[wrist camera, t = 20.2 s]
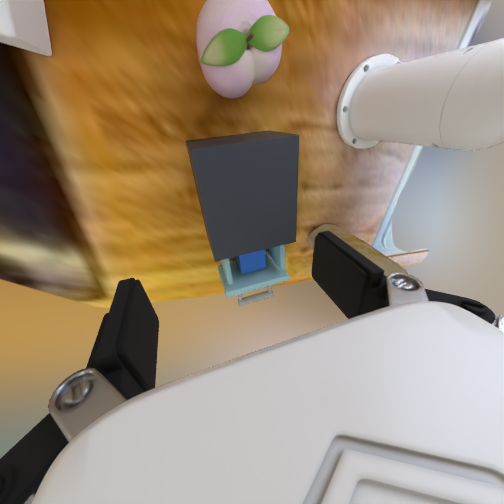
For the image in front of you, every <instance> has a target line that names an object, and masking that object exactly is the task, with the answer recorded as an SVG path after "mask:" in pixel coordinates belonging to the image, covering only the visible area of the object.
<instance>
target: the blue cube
mask: <svg viewBox="0 0 504 504" xmlns="http://www.w3.org/2000/svg"><path fill="white" fill-rule="evenodd" d="M235 259H236V262H237V264H238V267H239V269H240V271H241V273H242V274H246V273H250V272H253V271H257V270H261V269H265V268H266V258H265V250H260V251H256V252H252V253H248V254H244V255H240V256H236V257H235Z"/></svg>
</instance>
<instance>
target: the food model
mask: <svg viewBox="0 0 504 504" xmlns="http://www.w3.org/2000/svg"><path fill="white" fill-rule="evenodd" d="M323 231H330V232H332V233H333V234H335V235H336V236H337V237H339V238H340V239H341V240H343V241H344V242H346V243H347V244H348V245H350V246H351V247H353V248H354V249H355V250H357V251H358V252H359V253H361V254H362V255H364V256H365V257H366V258H368V259H369V260H371V261H372V262H373V263H375V264H376V265H377V266H379V267H380V268H382V269H383V270H384V271H385V272H384V275H386V276H388V275H389V274H391V273H396V272H399V273H405V274H408V273H407V272H406V270H405V269H404V268H402V267H401V266H400V265H399V264H397V263H396V262H394V261H393V260H391V259H389V258H388V257H386V256H385V255H383V254H382V253H381V252H379V251H378V250H376V249H375V248H373V247H372V246H370V245H369V244H367V243H366V242H364V241H362V240H361V239H359V238H357V237H356V236H354V235H352V234H351V233H349V232H347V231H346V230H344V229H342V228H340V227H338V226H335V225H332V224H324V225H321V226H319V227H318V228H316V229H315V230H314V231H312V232H311V233H310V234H309V235H308V242H309V243H310V245H311V246H312V247H313V248H314V241H315V236H317V234H318V233H319V232H323Z"/></svg>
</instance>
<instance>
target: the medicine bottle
mask: <svg viewBox="0 0 504 504" xmlns="http://www.w3.org/2000/svg"><path fill="white" fill-rule="evenodd" d="M0 42H2V43H5V44H9V45H12V46H15V47H19V48H22V49H25V50H29V51H32V52H36V53H39V54H42V55H46V56H51V55H52V49H51V43H50V37H49V31H48V24H47V18H46V12H45V6H44V0H0Z"/></svg>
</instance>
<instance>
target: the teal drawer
mask: <svg viewBox="0 0 504 504" xmlns="http://www.w3.org/2000/svg"><path fill="white" fill-rule="evenodd" d="M265 252H268V253H269V254H265V258H266V268H265V269H261V270H257V271H253V272H250V273H246V274H242V273H241V271H240V269H239V267H238V264H237V262H233V263H229V261H231V260H235V257H232V258H228V259H224V260H220V261H221V264H222V265H221V266H218V270H219V274H220V277H221V280H222V284H223V287H224V290H225V294H226V297H227V298H228V297H231V296H235V295H238V296H239V299H238V303H239V306H243V305H246V304H250V303H253V302H256V301H260V300H263V299H266V298H269V297H273V296H274V294H273V291H272V286H271V285H274V284H277V283H281V282H284V281H288V280H289V274H288V273H287V272H286V270H285V245H281V246H277V247H273V248H269V249H265ZM267 286H268V291H265V292H262V293H258V294H255V295H251V296H248V297H244V298H242V293H246V292H249V291H253V290H256V289H260V288H263V287H267Z"/></svg>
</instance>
